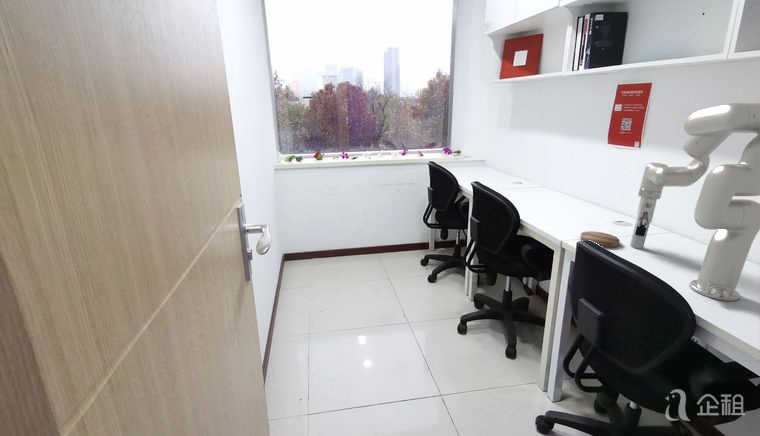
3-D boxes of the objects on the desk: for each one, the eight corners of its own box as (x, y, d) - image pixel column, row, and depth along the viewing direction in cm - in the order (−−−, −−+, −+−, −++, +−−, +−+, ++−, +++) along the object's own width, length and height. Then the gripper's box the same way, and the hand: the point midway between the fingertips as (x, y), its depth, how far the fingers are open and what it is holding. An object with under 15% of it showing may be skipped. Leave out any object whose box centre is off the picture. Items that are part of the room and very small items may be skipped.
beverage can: (639, 245, 162) (645, 219, 158) (645, 249, 157) (652, 222, 153) (627, 244, 162) (634, 218, 158) (633, 248, 158) (640, 222, 154)
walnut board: (618, 250, 155) (619, 246, 155) (578, 242, 163) (579, 238, 162) (619, 239, 167) (620, 235, 167) (581, 233, 175) (582, 229, 174)
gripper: (662, 199, 143) (650, 240, 149) (659, 190, 157) (649, 227, 163) (639, 196, 147) (628, 236, 153) (638, 187, 161) (629, 224, 167)
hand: (639, 232), depth 158 cm, fingers open, 9 cm apart
